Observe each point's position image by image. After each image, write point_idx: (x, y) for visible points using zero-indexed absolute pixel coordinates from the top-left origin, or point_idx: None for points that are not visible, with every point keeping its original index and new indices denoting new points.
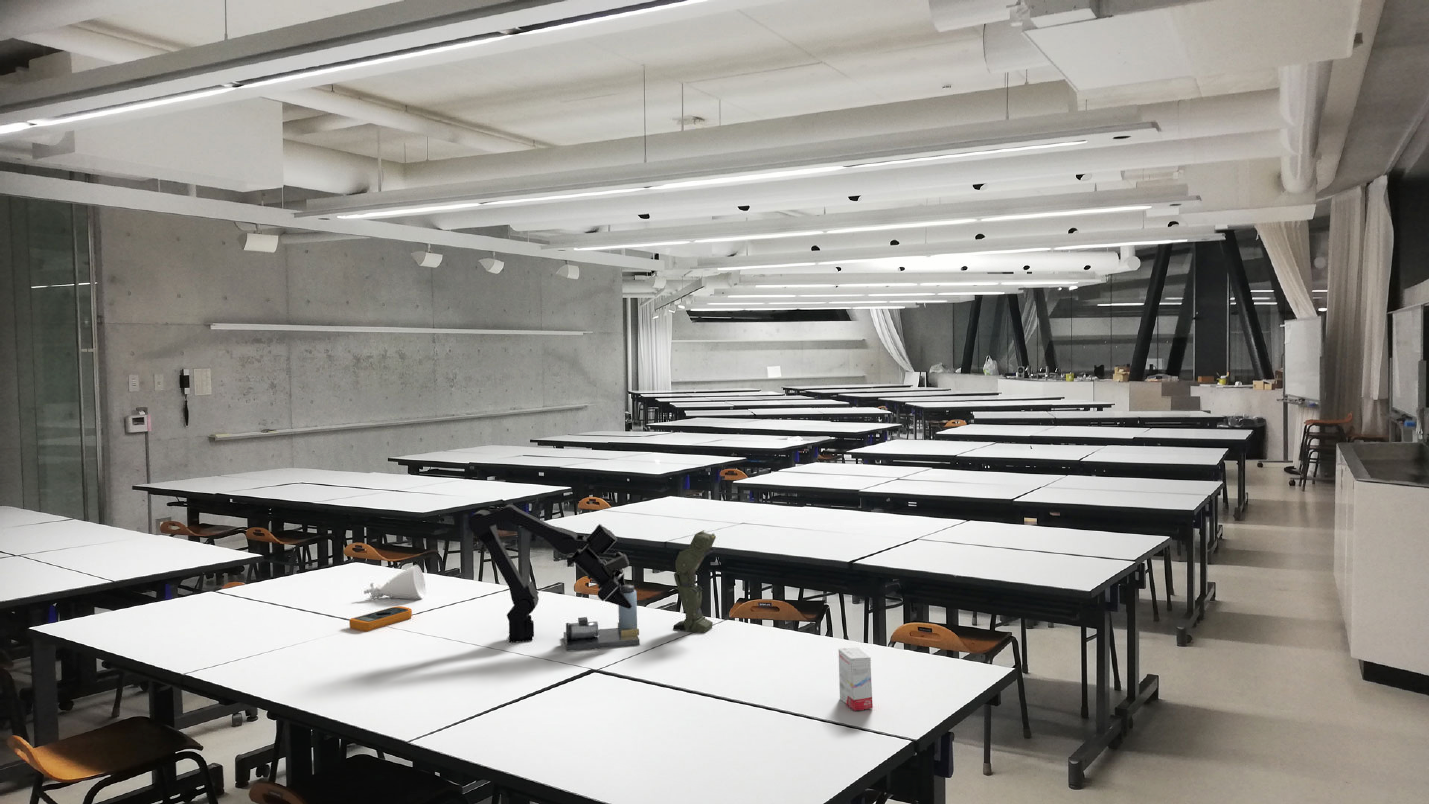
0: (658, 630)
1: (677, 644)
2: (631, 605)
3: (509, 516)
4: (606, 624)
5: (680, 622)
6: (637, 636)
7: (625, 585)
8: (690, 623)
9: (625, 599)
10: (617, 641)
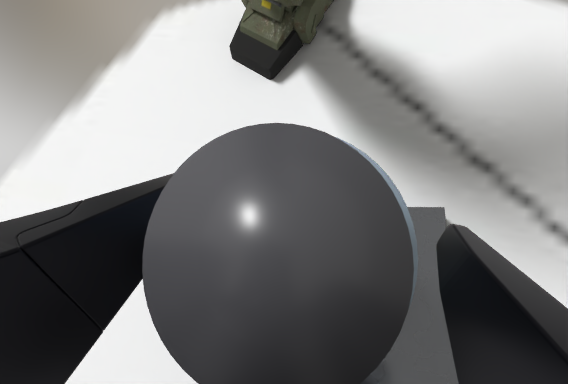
0: None
1: (455, 78)
2: (467, 228)
3: None
4: (142, 286)
5: (248, 45)
6: None
7: (188, 269)
8: (320, 2)
9: (565, 317)
10: None
